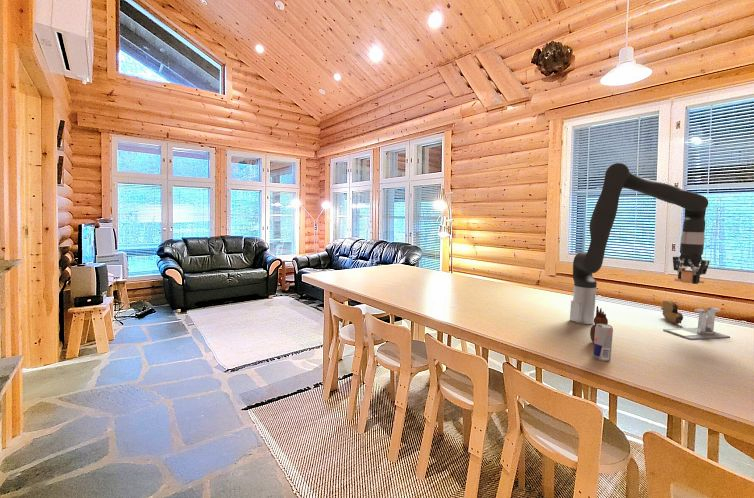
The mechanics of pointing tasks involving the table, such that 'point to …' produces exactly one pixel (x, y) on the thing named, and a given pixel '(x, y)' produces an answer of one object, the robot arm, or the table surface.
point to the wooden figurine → (598, 322)
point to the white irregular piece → (706, 320)
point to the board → (694, 334)
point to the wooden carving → (671, 312)
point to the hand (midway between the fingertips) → (687, 282)
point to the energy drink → (603, 342)
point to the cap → (687, 277)
